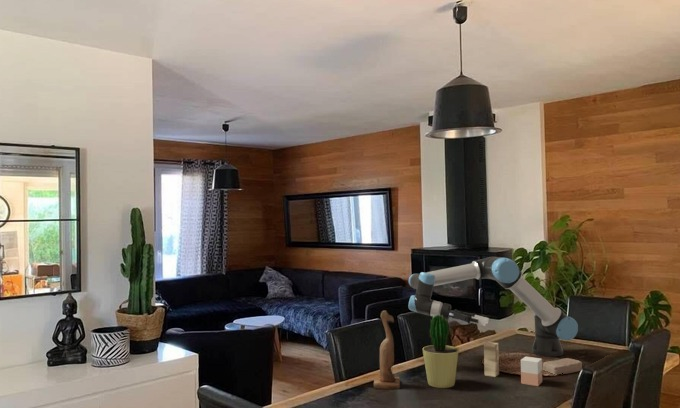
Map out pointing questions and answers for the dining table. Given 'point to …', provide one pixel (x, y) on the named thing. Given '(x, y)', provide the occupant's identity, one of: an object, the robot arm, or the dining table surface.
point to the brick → (562, 366)
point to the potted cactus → (440, 356)
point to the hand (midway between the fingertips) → (487, 322)
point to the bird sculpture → (386, 358)
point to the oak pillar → (491, 359)
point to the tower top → (531, 365)
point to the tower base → (531, 378)
